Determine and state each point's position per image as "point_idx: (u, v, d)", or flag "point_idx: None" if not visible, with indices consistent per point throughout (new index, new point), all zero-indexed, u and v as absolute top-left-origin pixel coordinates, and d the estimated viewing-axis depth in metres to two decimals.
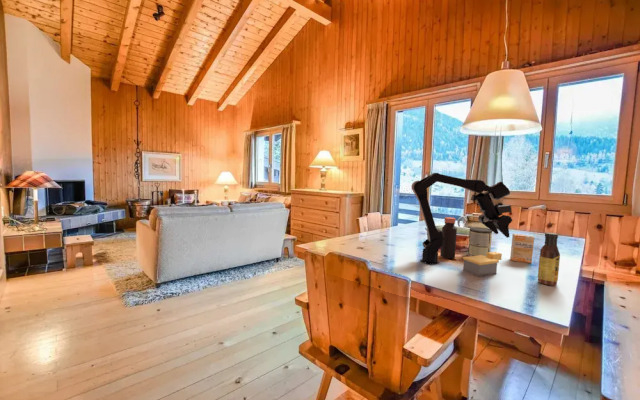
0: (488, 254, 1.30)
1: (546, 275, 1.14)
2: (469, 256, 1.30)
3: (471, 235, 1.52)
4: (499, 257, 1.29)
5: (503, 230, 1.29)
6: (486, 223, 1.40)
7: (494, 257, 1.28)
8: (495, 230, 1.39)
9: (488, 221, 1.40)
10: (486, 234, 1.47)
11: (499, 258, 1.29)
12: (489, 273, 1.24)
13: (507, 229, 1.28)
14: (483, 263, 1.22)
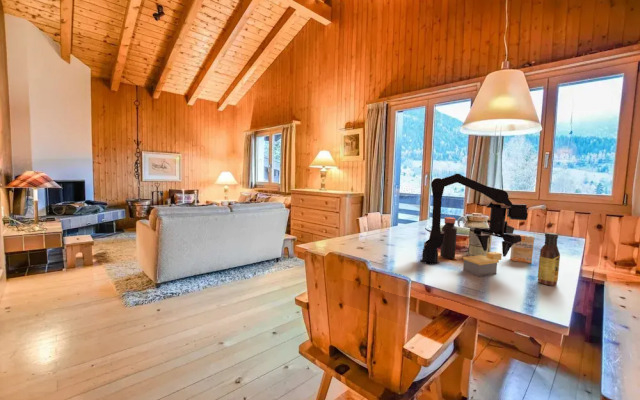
0: (488, 254, 1.30)
1: (546, 275, 1.14)
2: (469, 256, 1.30)
3: (471, 235, 1.52)
4: (499, 257, 1.29)
5: (506, 248, 1.24)
6: (482, 236, 1.33)
7: (494, 257, 1.28)
8: (485, 247, 1.34)
9: (484, 235, 1.34)
10: None
11: (499, 258, 1.29)
12: (489, 273, 1.24)
13: (509, 248, 1.25)
14: (483, 263, 1.22)
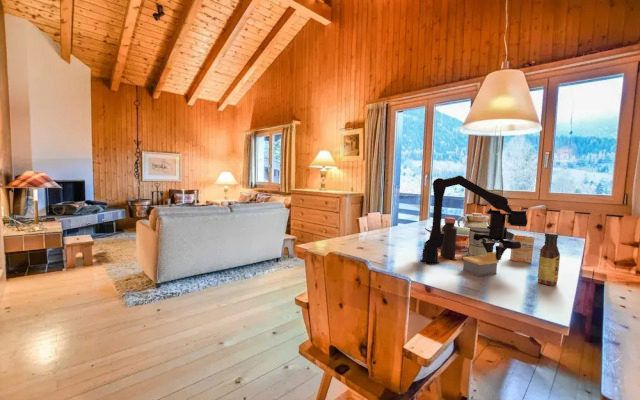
0: (488, 254, 1.30)
1: (546, 275, 1.14)
2: (469, 256, 1.30)
3: (471, 235, 1.52)
4: None
5: (499, 252, 1.27)
6: (487, 244, 1.31)
7: (494, 257, 1.28)
8: None
9: (489, 243, 1.32)
10: None
11: None
12: (489, 273, 1.24)
13: (502, 253, 1.27)
14: (483, 263, 1.22)
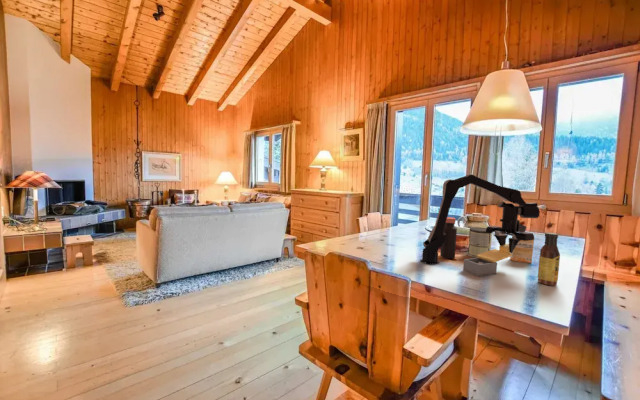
0: (501, 248, 1.32)
1: (546, 275, 1.14)
2: (482, 253, 1.33)
3: (471, 235, 1.52)
4: None
5: (513, 244, 1.29)
6: (500, 237, 1.33)
7: (507, 250, 1.30)
8: None
9: (502, 235, 1.34)
10: (486, 234, 1.47)
11: None
12: (489, 273, 1.24)
13: (515, 245, 1.30)
14: (497, 260, 1.25)
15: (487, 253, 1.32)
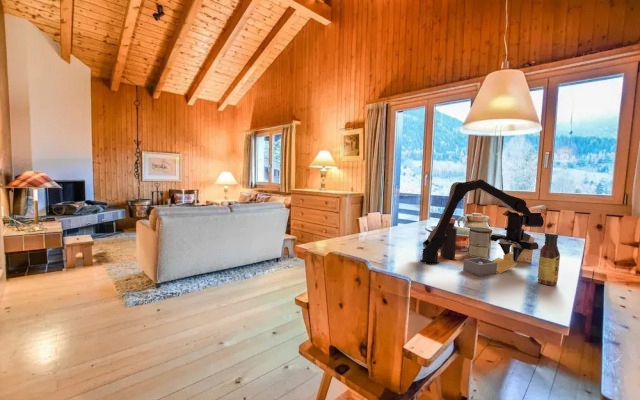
0: (505, 257, 1.34)
1: (546, 275, 1.14)
2: None
3: (471, 235, 1.52)
4: None
5: (517, 253, 1.31)
6: (504, 245, 1.35)
7: (511, 259, 1.32)
8: None
9: (506, 244, 1.36)
10: (486, 234, 1.47)
11: None
12: (489, 273, 1.24)
13: (519, 253, 1.32)
14: (502, 271, 1.27)
15: None
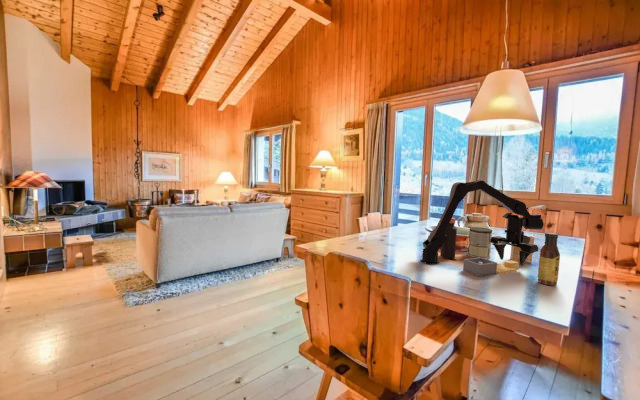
0: (506, 263, 1.35)
1: (546, 275, 1.14)
2: None
3: (471, 235, 1.52)
4: (516, 266, 1.34)
5: (523, 257, 1.28)
6: (499, 246, 1.38)
7: (512, 266, 1.33)
8: (502, 256, 1.38)
9: (500, 245, 1.39)
10: (486, 234, 1.47)
11: (516, 267, 1.34)
12: (489, 273, 1.24)
13: (526, 257, 1.29)
14: (502, 272, 1.27)
15: None
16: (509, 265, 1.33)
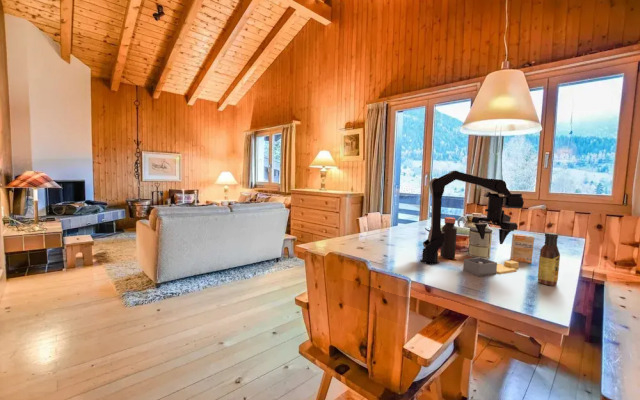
0: (506, 263, 1.35)
1: (546, 275, 1.14)
2: None
3: (471, 235, 1.52)
4: (516, 266, 1.34)
5: (503, 235, 1.28)
6: (479, 225, 1.38)
7: (512, 266, 1.33)
8: (483, 236, 1.38)
9: (481, 224, 1.38)
10: (486, 234, 1.47)
11: (516, 267, 1.34)
12: (489, 273, 1.24)
13: (505, 236, 1.29)
14: (502, 272, 1.27)
15: None
16: (509, 265, 1.33)
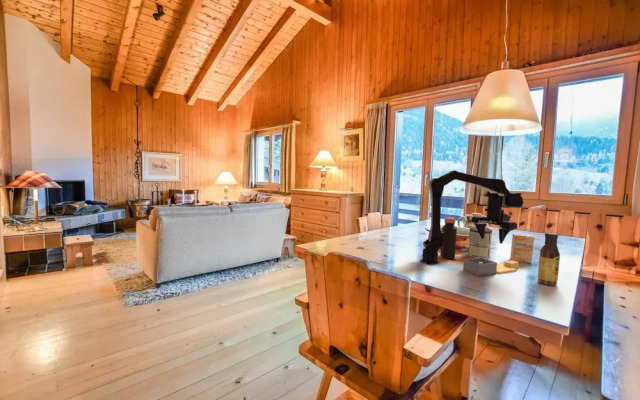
0: (506, 263, 1.35)
1: (546, 275, 1.14)
2: None
3: (471, 235, 1.52)
4: (516, 266, 1.34)
5: (503, 235, 1.28)
6: (479, 225, 1.38)
7: (512, 266, 1.33)
8: (483, 235, 1.38)
9: (481, 224, 1.38)
10: (486, 234, 1.47)
11: (516, 267, 1.34)
12: (489, 273, 1.24)
13: (505, 235, 1.29)
14: (502, 272, 1.27)
15: None
16: (509, 265, 1.33)
